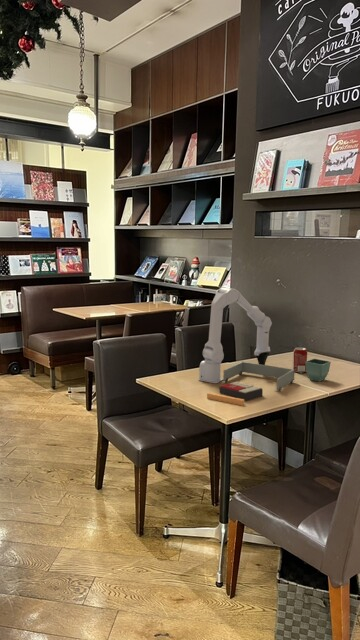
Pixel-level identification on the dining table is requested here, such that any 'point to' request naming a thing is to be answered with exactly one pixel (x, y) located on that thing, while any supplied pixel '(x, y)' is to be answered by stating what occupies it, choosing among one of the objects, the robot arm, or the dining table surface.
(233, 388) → the calculator
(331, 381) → the dining table surface
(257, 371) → the grey u-shaped barrier
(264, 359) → the robot arm
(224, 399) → the bar
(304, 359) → the soda can
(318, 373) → the flower pot
